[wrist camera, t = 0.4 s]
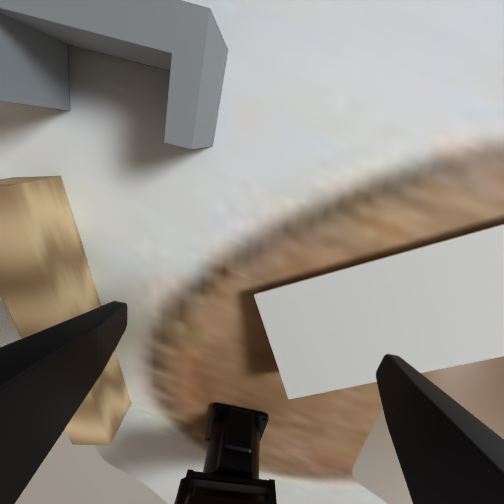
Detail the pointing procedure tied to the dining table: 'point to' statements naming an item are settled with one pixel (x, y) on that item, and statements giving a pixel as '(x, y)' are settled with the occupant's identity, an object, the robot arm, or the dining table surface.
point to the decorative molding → (390, 314)
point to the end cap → (117, 54)
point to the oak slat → (54, 288)
